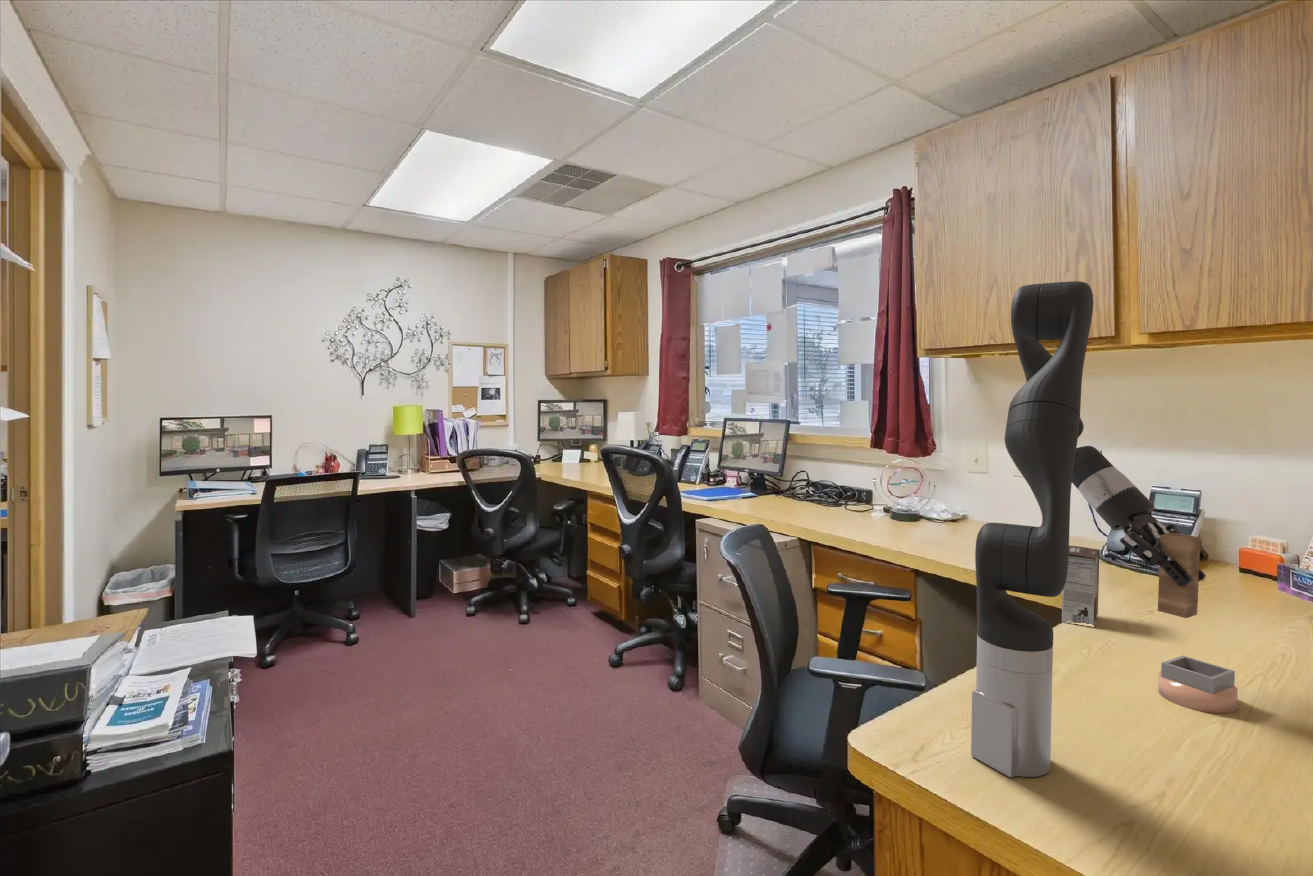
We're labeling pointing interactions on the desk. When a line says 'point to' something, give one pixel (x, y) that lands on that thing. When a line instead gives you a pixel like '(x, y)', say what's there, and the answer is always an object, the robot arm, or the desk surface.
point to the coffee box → (1081, 586)
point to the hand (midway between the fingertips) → (1193, 581)
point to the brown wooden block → (1169, 593)
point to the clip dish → (1198, 685)
